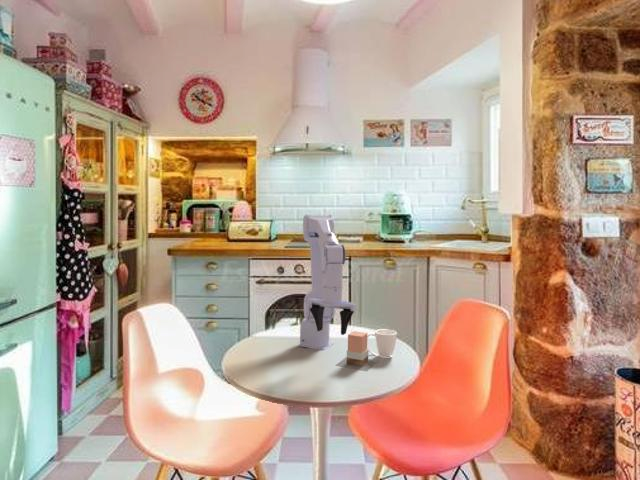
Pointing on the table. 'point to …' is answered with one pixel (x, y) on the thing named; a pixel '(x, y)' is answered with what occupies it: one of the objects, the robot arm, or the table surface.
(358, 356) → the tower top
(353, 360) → the tower base
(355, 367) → the coaster
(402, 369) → the table surface
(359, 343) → the block
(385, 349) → the cup
